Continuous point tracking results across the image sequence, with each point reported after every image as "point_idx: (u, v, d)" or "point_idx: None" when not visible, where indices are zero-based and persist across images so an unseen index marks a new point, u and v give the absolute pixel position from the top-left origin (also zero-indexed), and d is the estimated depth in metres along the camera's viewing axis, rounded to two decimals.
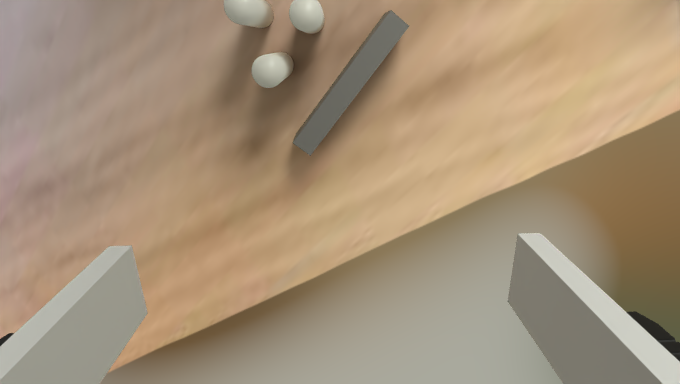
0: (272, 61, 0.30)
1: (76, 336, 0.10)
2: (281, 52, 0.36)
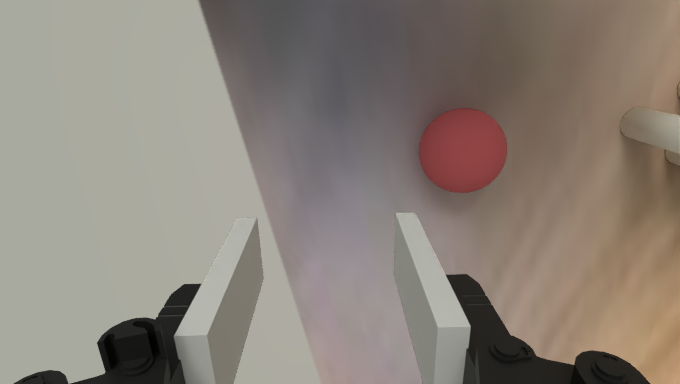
0: None
1: (240, 287, 0.12)
2: None
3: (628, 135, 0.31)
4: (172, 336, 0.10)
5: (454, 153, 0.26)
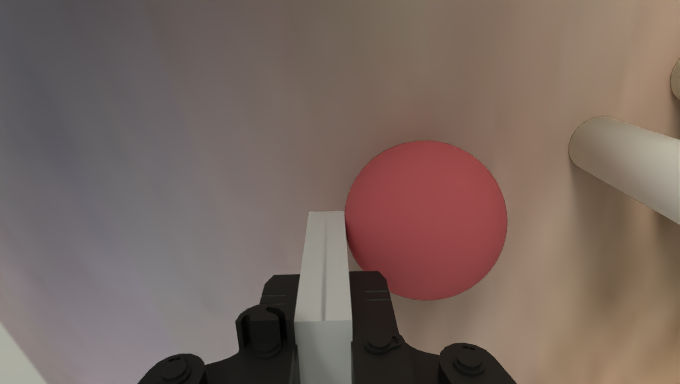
0: None
1: None
2: None
3: (583, 168, 0.17)
4: None
5: (506, 225, 0.14)
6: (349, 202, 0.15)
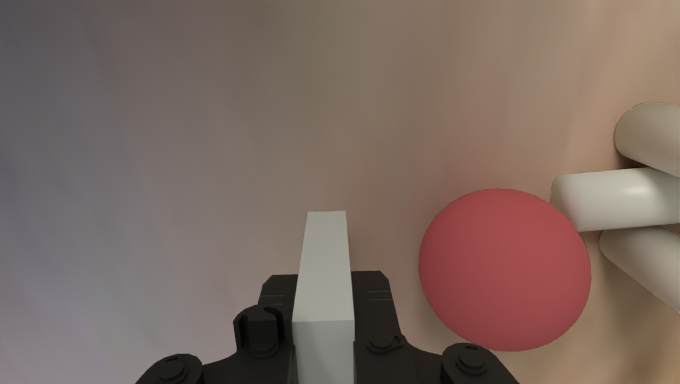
0: None
1: None
2: (637, 230, 0.17)
3: (591, 229, 0.16)
4: None
5: None
6: (557, 291, 0.12)
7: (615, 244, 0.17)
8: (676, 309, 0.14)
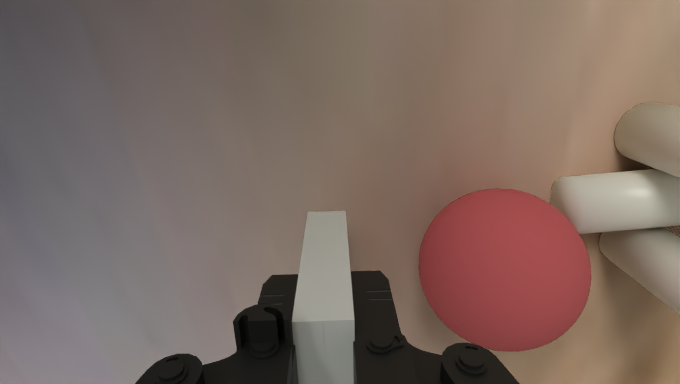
0: None
1: None
2: (637, 230, 0.17)
3: (589, 232, 0.16)
4: None
5: None
6: (557, 291, 0.12)
7: (615, 244, 0.17)
8: (676, 309, 0.14)
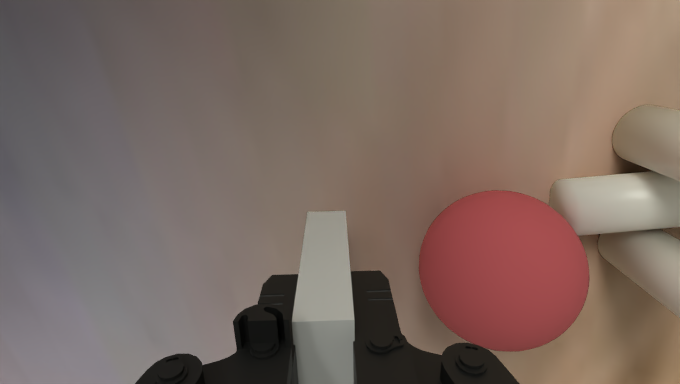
0: None
1: None
2: (635, 231, 0.17)
3: (588, 234, 0.16)
4: None
5: None
6: (555, 291, 0.13)
7: (614, 246, 0.17)
8: (673, 310, 0.15)
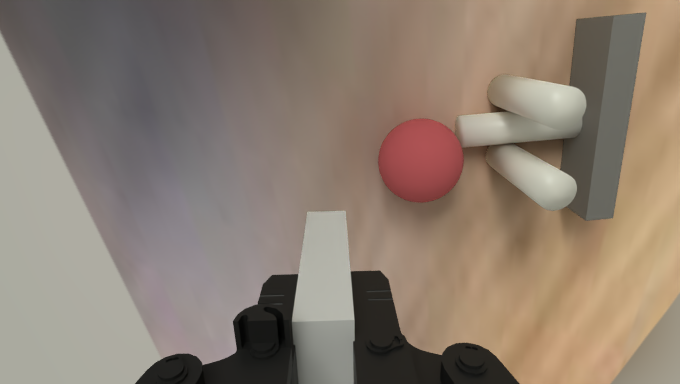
0: (555, 178, 0.24)
1: None
2: (500, 145, 0.30)
3: (471, 145, 0.30)
4: None
5: None
6: (439, 160, 0.26)
7: (490, 155, 0.31)
8: (509, 179, 0.28)
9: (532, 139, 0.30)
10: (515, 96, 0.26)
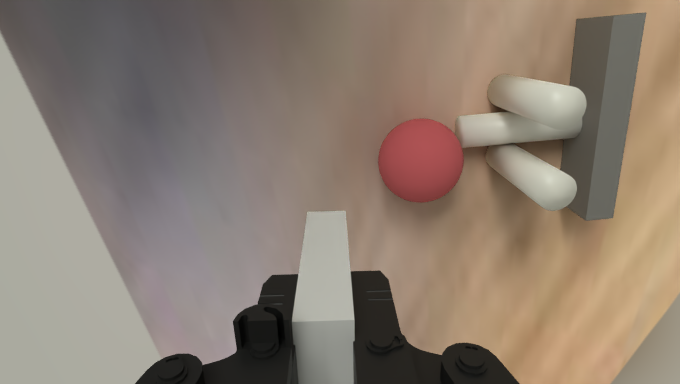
0: (555, 178, 0.24)
1: None
2: (500, 145, 0.30)
3: (471, 145, 0.30)
4: None
5: None
6: (439, 160, 0.26)
7: (490, 155, 0.31)
8: (509, 179, 0.28)
9: (532, 139, 0.30)
10: (515, 96, 0.26)
